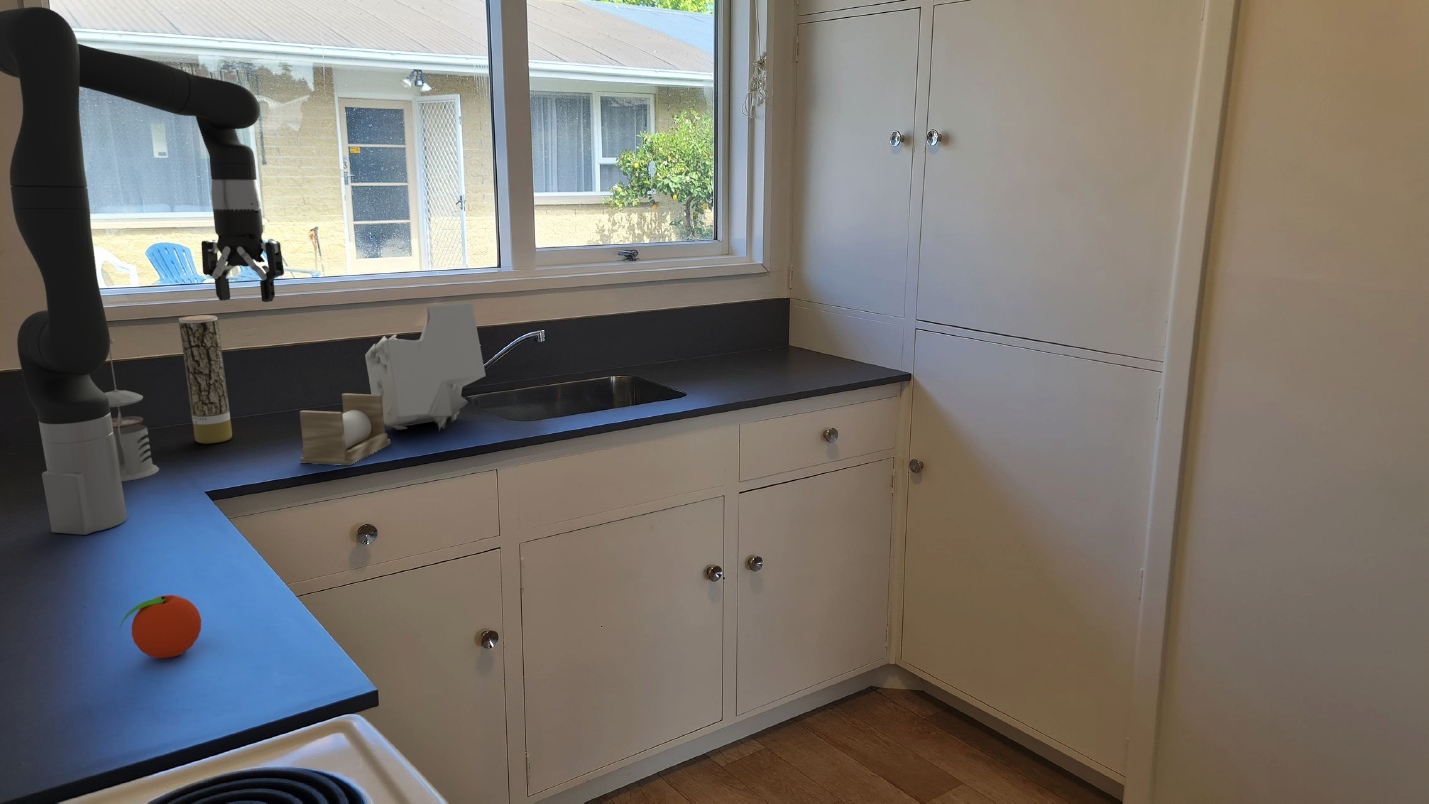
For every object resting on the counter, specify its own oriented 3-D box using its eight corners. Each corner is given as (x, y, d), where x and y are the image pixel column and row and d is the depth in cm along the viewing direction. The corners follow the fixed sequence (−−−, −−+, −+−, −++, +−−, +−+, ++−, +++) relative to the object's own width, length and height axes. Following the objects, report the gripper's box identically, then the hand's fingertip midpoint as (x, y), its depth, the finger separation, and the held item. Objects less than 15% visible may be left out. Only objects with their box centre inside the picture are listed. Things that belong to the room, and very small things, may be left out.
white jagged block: (396, 434, 192) (373, 309, 194) (374, 444, 205) (353, 327, 207) (494, 419, 204) (472, 302, 205) (467, 429, 217) (446, 319, 218)
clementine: (128, 678, 106) (119, 618, 105) (121, 654, 112) (112, 596, 110) (210, 657, 111) (202, 599, 109) (199, 634, 117) (191, 578, 115)
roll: (345, 453, 183) (336, 421, 182) (315, 458, 185) (306, 425, 184) (376, 438, 194) (367, 407, 192) (347, 442, 195) (339, 411, 194)
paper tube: (217, 445, 195) (201, 320, 190) (187, 443, 197) (170, 320, 191) (240, 436, 202) (225, 315, 196) (211, 434, 203) (195, 314, 197)
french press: (163, 462, 184) (143, 330, 179) (153, 480, 174) (132, 341, 168) (102, 468, 181) (81, 334, 175) (89, 487, 170) (65, 345, 165)
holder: (349, 466, 181) (344, 413, 179) (300, 463, 183) (294, 411, 181) (390, 443, 196) (386, 395, 193) (344, 441, 198) (340, 393, 195)
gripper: (185, 207, 167) (195, 302, 171) (259, 207, 165) (268, 304, 168) (215, 206, 175) (225, 297, 178) (287, 206, 172) (295, 299, 175)
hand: (246, 300), depth 173 cm, fingers open, 8 cm apart
